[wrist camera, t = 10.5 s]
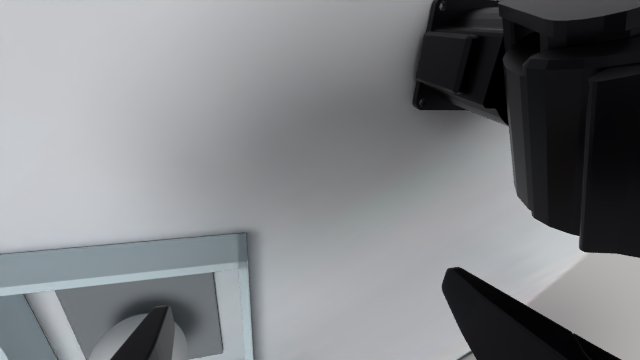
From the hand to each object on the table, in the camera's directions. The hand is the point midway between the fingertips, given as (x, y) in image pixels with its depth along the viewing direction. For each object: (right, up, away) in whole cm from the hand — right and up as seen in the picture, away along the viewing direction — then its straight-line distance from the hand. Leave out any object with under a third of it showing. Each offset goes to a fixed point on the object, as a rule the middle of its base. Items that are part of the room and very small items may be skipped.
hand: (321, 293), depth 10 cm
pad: (-13, -7, +14) cm, 21 cm away
